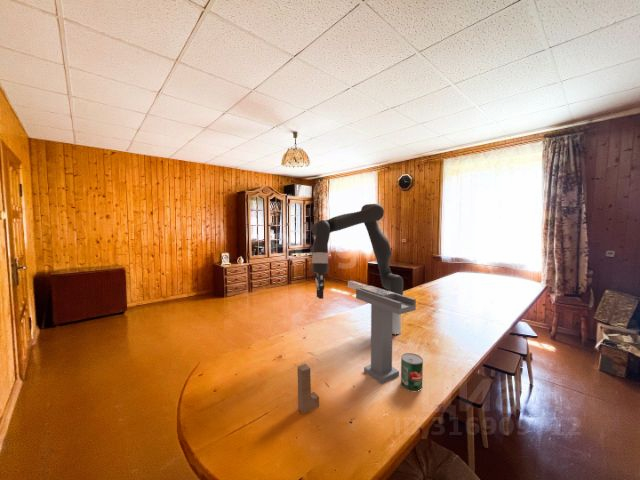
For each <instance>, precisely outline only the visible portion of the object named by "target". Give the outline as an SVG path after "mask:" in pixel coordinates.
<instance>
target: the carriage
mask: <svg viewBox="0 0 640 480" xmlns="http://www.w3.org/2000/svg"><path fill="white" fill-rule="evenodd" d="M347 288H348V289H351V290H354V291H356V289H357V288H359V289H362V290H365V291H368V292H371V293H374V294H377V295H380V296H383V297H386V298H389V299H392V300H393V299H395V293H393V292H390V291H391V290H388V289H384V290H383V288H380V287H377V288H376V286H373V285H369V284H365V283H362V282H357V281H355V280H348V281H347Z"/></svg>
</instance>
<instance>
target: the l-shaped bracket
mask: <svg viewBox="0 0 640 480" xmlns="http://www.w3.org/2000/svg"><path fill="white" fill-rule="evenodd" d="M311 387H312V386H311V367H310V366H309V364H307V363H304V364H301V365H298V366H297V409H298V410H299V412H300V411H301V412H300V413H301V414H302V415H304V414H306V412H307V413H308V411H309V412H310V410H311V411H313V410H314V409H317V408H320V397H319V395H318V394H317V393H316V392H315V391H313V392H312V388H311Z"/></svg>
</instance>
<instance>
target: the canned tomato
mask: <svg viewBox="0 0 640 480" xmlns="http://www.w3.org/2000/svg"><path fill="white" fill-rule="evenodd" d="M400 358H401V359H400V365H401V366H400V385H402V386H401V387H402V388H403V389H404V390H405V391H408V390H409V391H408V392H411V391H418V390H420V389H421V388H422V389H423V373H424V372H423V371H424V370H423V368H424V367H423V366H424V365H423V364H424V359H423V357H422V356H420V355H419V354H417V353H411V352H406V353H403V354H401V356H400ZM418 392H419V391H418Z"/></svg>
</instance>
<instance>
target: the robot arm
mask: <svg viewBox="0 0 640 480" xmlns="http://www.w3.org/2000/svg"><path fill="white" fill-rule="evenodd" d="M384 213H385V210H384V207H383V206H382V205H380V204H378V203H369V204H368V203H367V204H364V205H363V206H362V207H361V209H360V211H353V212H350V213H343V214H340V215H336V216H334V217H331V218H329V219H326V220H325V219H322V220H319V221H317V222H315V223H313V225H312V226H311V228H310V229H311V231H310V232H311V233H312V234H313V235H314V236H315V240H314V241H313V244H312V259H311V260H312V262H311V272H312V273H313V274H316V276H315V289H316V298H318V299H320V300H321V299H322V300H324V290H325V284H326V283H325V279H326V278H325V277H326V276H325V275H324V274H327V273H329V253H328V252H329V250H328V249H329V246H328V245H329V240H330V235H331V233H333V232H338V231H341V230H345V229H349V228H350V227H353V226H356V225H360V224H364V226H365V228H366V231H367V234H368V237H369V241H370V243H371V247H372V250H373V254H374V256H375V260H376V263H377V266H378V270H379V276H380V281H381V285H382V287H383V288H384V289H385V290H387V291H390V292H394V293H397V294H400V295H403V294H404V279H403V277H402V276H401V275H398V274H394V273H392V271H391V267H390V261H391V259H392V249H391V245H390V242H389V240H388V238H387V237H386V235H385V234H384V233H383V231H382V230H381V228H380V227H379V225H378V221H380V220H381V219H383V217H384V215H385V214H384ZM401 328H402V314H400V315H398V314H396V313H393V314H392V334H395V335H394V336H396V334H398V335H400V334H402V329H401Z"/></svg>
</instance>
